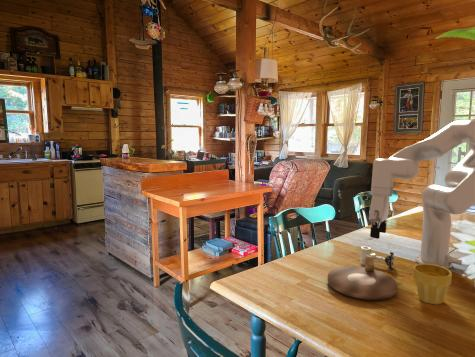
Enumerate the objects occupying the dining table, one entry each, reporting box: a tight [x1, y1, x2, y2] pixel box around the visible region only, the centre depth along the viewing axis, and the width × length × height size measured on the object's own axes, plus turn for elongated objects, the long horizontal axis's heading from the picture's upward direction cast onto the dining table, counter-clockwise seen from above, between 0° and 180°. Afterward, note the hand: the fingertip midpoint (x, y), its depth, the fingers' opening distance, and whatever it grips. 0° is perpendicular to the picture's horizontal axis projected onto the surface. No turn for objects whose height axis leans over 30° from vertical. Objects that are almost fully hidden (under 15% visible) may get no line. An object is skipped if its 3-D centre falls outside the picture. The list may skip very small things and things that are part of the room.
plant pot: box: [412, 263, 453, 305], centre depth 104 cm, size 10×10×10 cm
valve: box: [359, 246, 395, 270], centre depth 131 cm, size 7×7×12 cm
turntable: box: [327, 255, 398, 301], centre depth 112 cm, size 22×22×7 cm
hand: (378, 234), depth 129 cm, fingers open, 9 cm apart
